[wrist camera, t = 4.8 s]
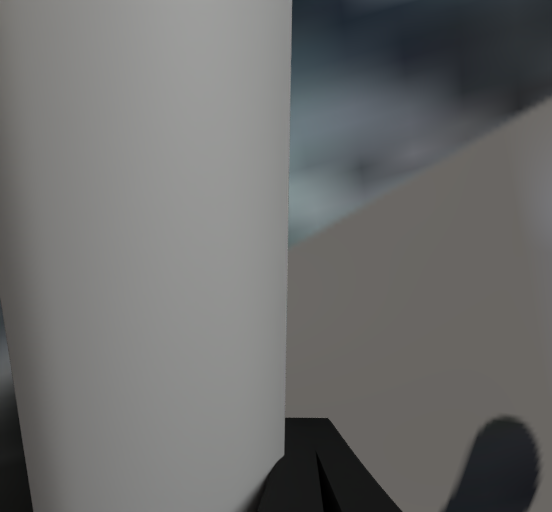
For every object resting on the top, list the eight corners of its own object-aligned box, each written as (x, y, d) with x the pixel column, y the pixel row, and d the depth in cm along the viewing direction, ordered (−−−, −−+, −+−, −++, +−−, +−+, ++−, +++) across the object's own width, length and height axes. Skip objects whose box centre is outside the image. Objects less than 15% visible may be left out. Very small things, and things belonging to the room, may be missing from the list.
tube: (-255, -403, 4) (45, 979, 9) (225, -776, 2) (248, 1142, 8) (112, -80, 9) (168, 698, 14) (343, -131, 7) (307, 764, 13)
